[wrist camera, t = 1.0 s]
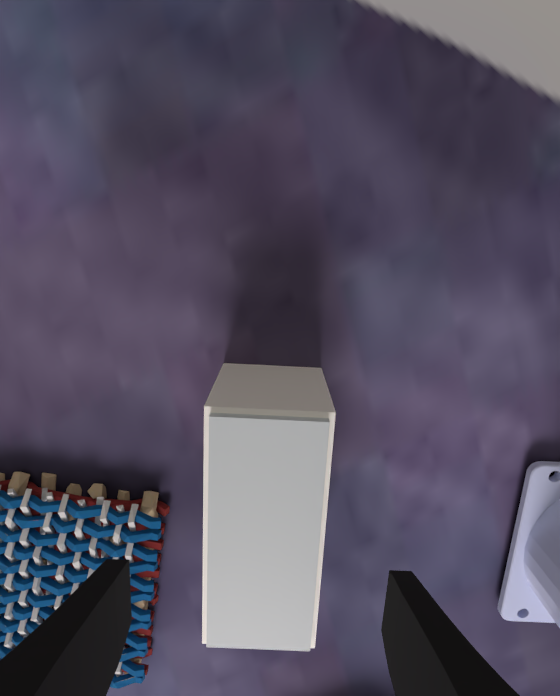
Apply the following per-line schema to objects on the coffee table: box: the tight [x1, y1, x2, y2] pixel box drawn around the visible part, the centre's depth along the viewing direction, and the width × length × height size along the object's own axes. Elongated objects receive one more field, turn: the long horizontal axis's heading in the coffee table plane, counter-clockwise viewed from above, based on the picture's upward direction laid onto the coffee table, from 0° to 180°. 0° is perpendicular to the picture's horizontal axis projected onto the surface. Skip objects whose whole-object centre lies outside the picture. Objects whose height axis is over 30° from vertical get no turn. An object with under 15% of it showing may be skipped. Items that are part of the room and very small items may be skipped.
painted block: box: [202, 363, 336, 651], centre depth 16 cm, size 4×9×5 cm, turn 177°
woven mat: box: [0, 472, 170, 688], centre depth 20 cm, size 10×11×2 cm
